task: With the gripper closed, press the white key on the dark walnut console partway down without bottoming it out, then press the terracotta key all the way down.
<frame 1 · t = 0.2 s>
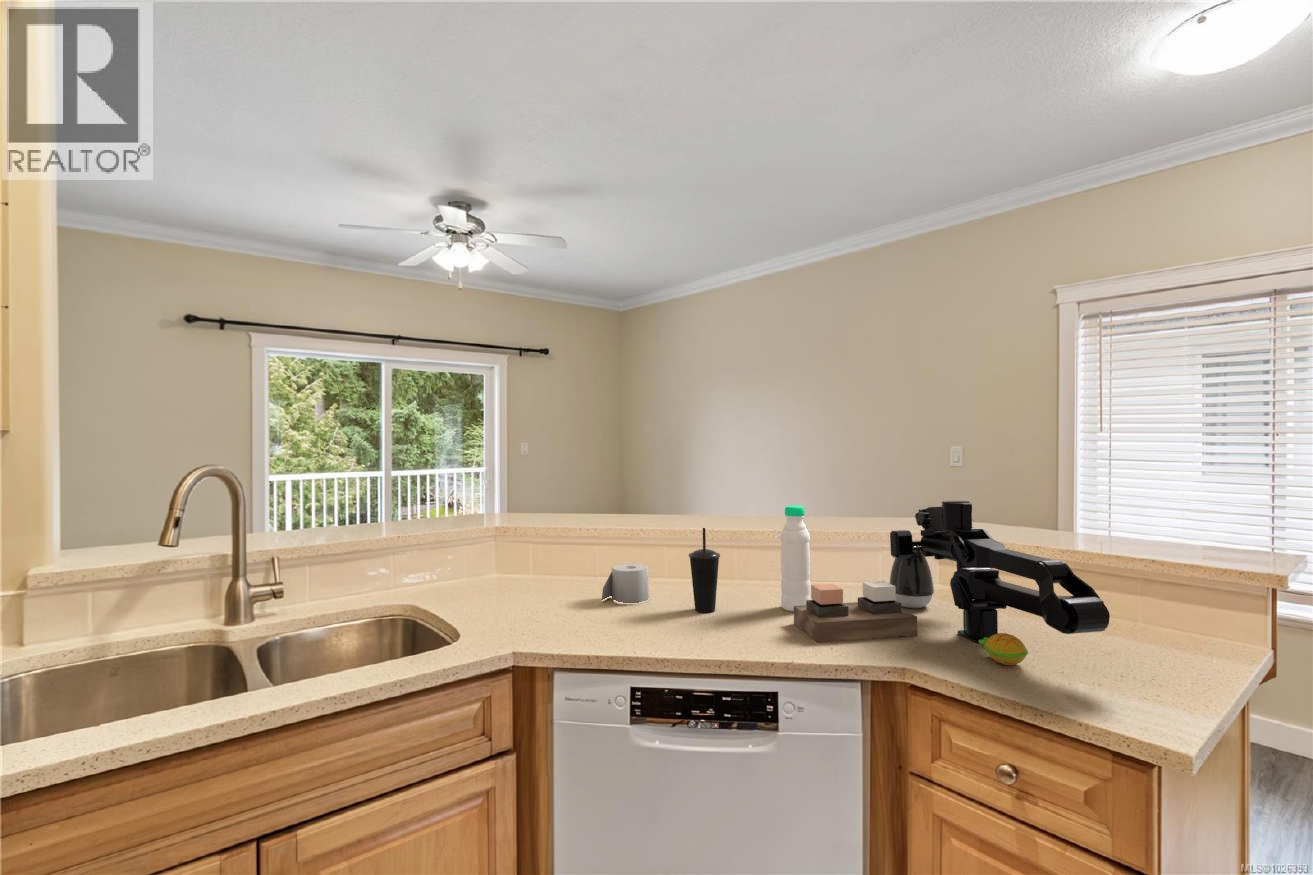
hand: (908, 538, 154), 17 cm above the worktop, tool horizontal, fingers open, 9 cm apart
white key: (878, 591, 136), point 8 cm above the worktop, slide at 0.0 cm
drinking cup: (705, 611, 152), on the worktop
console: (853, 629, 135), on the worktop
toilet tissue: (625, 601, 162), on the worktop
water bottle: (796, 609, 152), on the worktop
maraca: (1002, 662, 115), on the worktop
pump dispenser: (912, 606, 154), on the worktop
terracotta key: (826, 593, 134), point 8 cm above the worktop, slide at 0.0 cm
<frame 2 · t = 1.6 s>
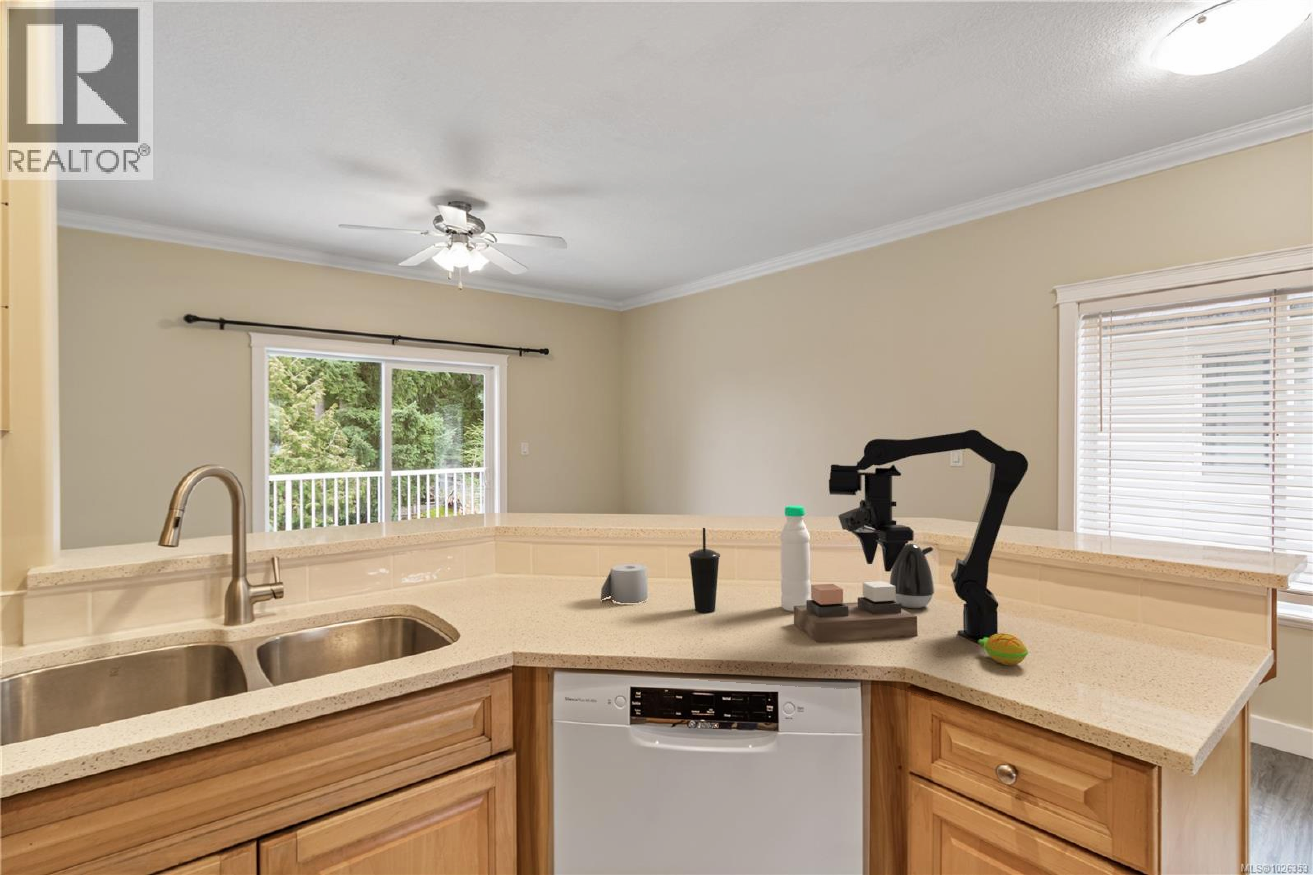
hand: (878, 567, 136), 13 cm above the worktop, tool pointing down, fingers open, 8 cm apart
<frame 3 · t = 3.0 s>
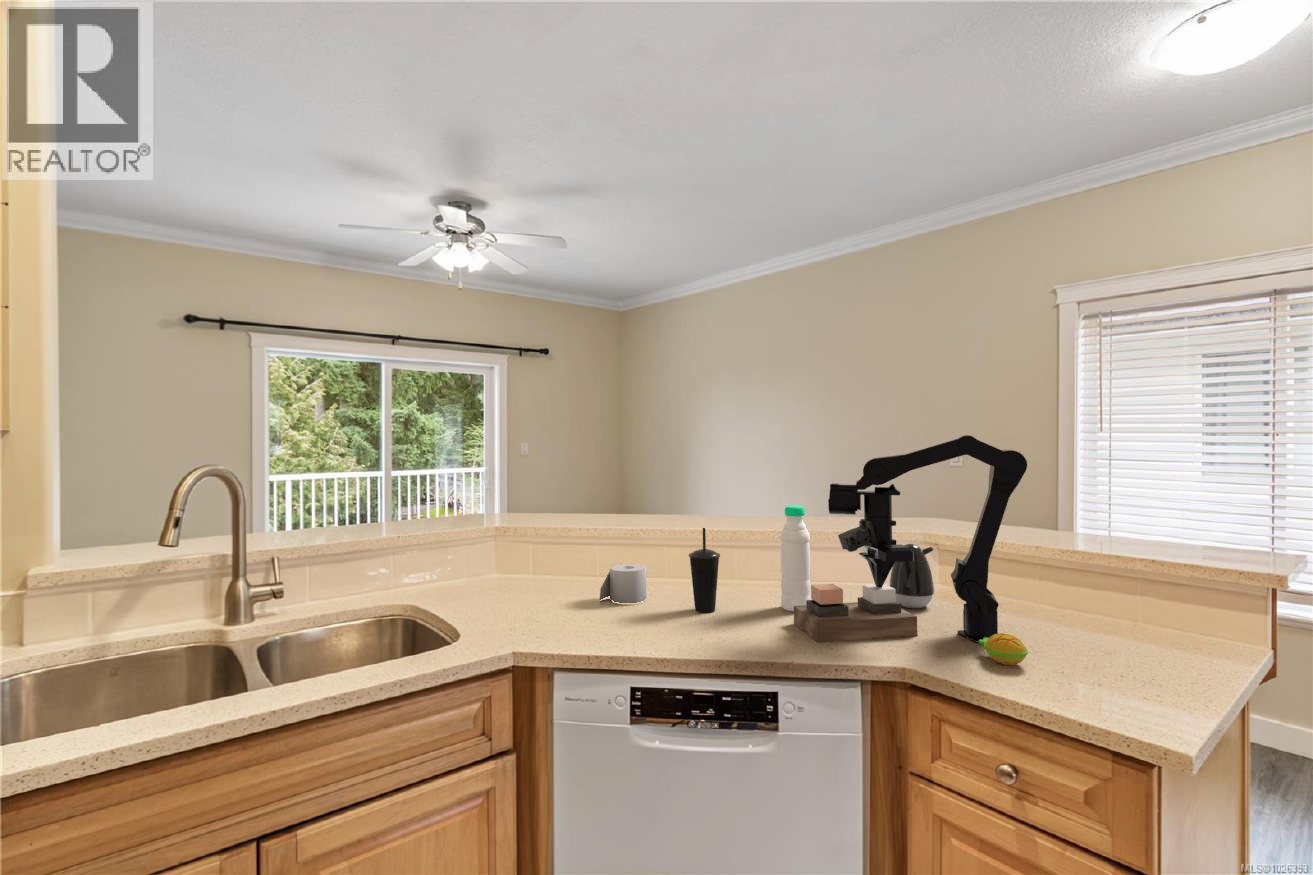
hand: (879, 586, 136), 9 cm above the worktop, tool pointing down, fingers closed, pressing on white key
white key: (878, 593, 136), point 7 cm above the worktop, slide at 0.6 cm, touching gripper
everything else where it was.
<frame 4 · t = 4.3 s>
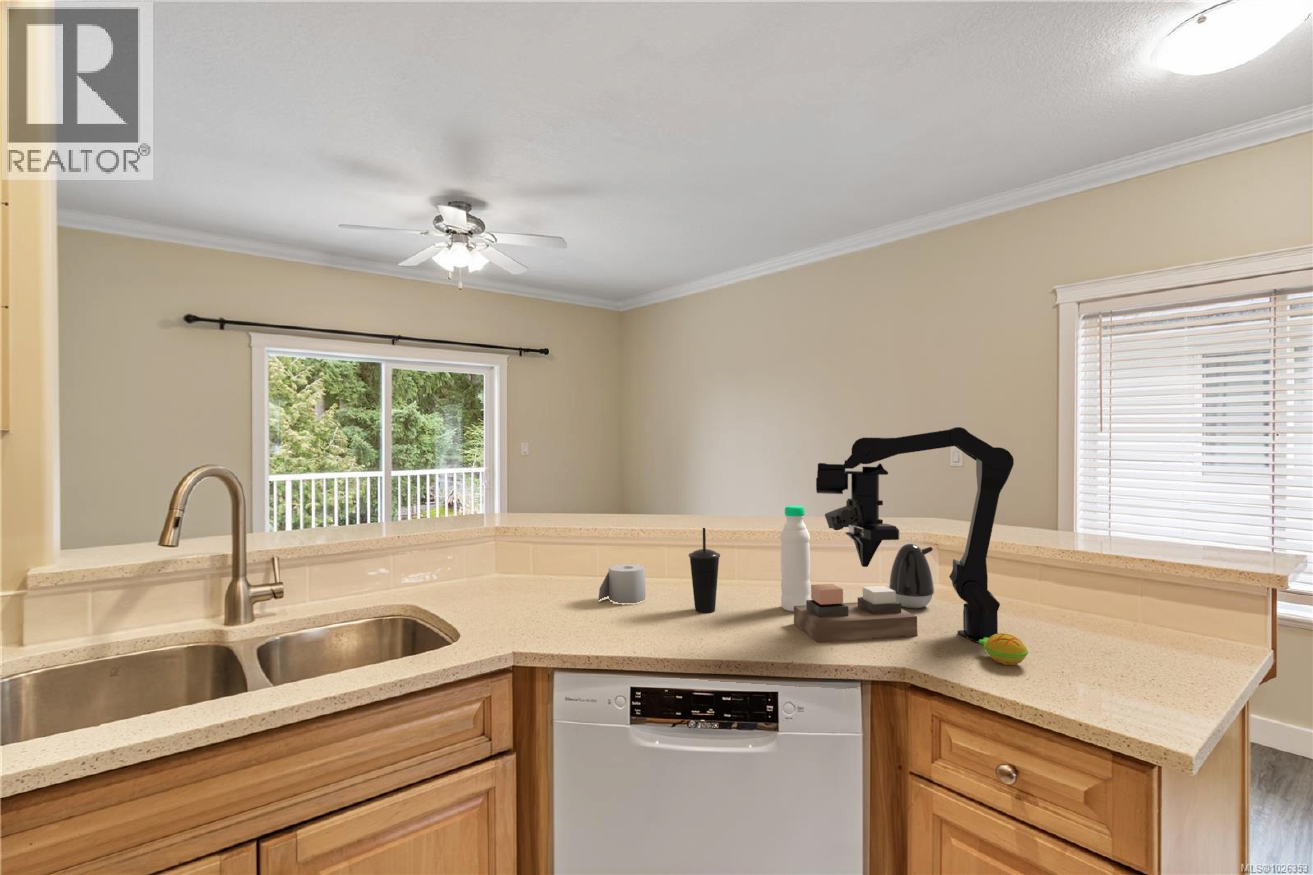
hand: (864, 566, 136), 13 cm above the worktop, tool pointing down, fingers closed
white key: (878, 595, 136), point 7 cm above the worktop, slide at 1.0 cm
everything else where it was.
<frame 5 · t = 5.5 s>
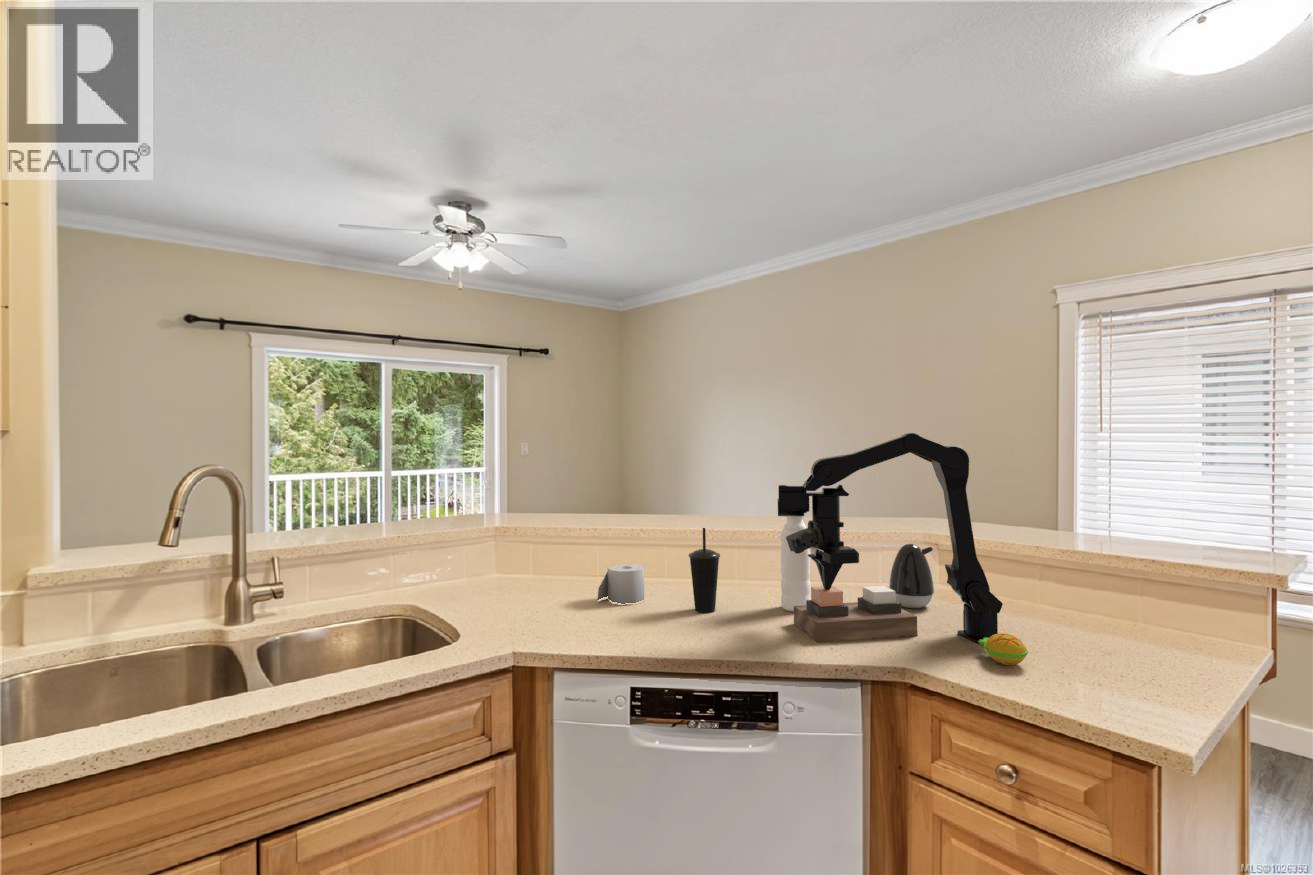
hand: (826, 589, 134), 9 cm above the worktop, tool pointing down, fingers closed, pressing on terracotta key
terracotta key: (826, 596, 134), point 8 cm above the worktop, slide at 0.5 cm, touching gripper
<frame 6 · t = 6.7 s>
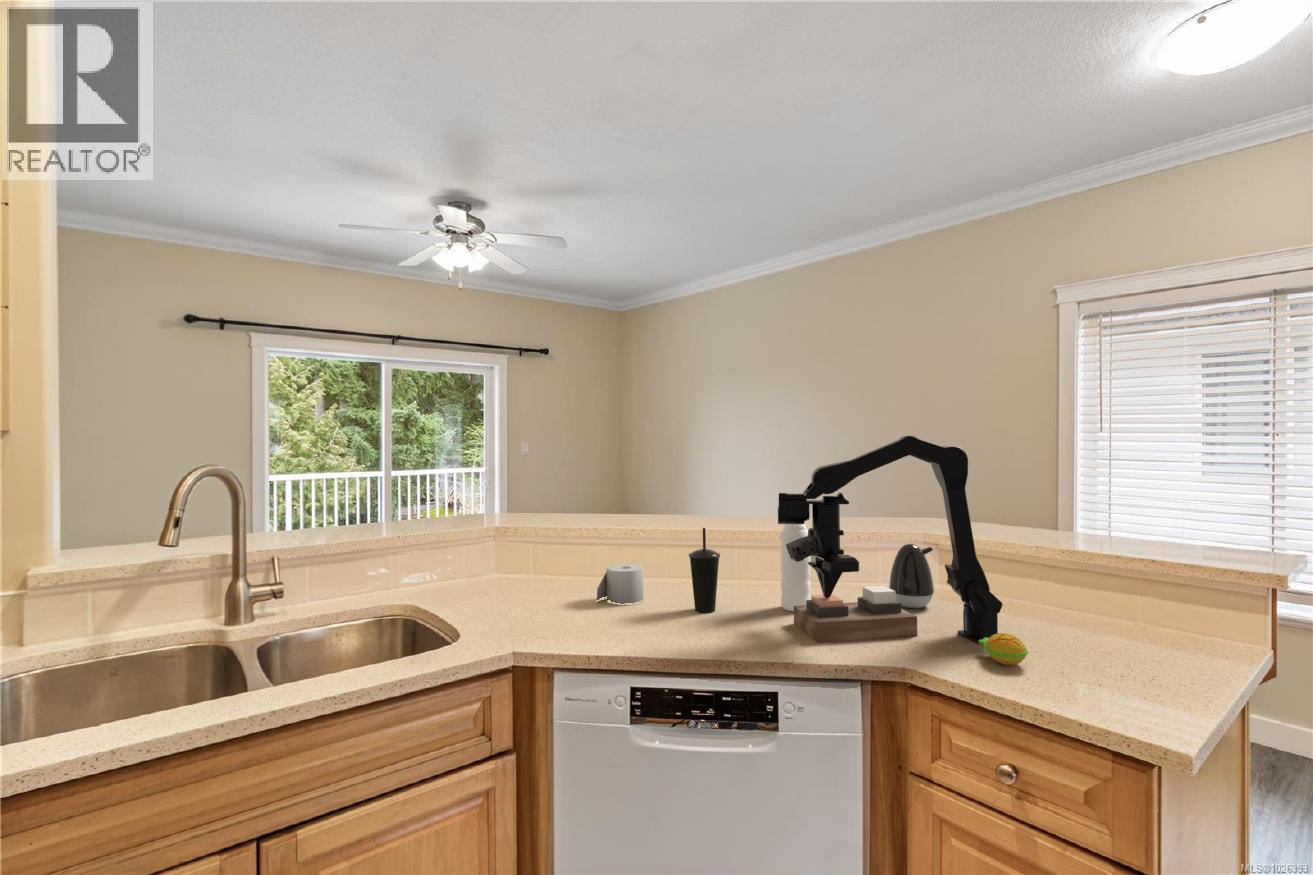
hand: (826, 597, 134), 7 cm above the worktop, tool pointing down, fingers closed
terracotta key: (826, 604, 134), point 6 cm above the worktop, slide at 2.3 cm
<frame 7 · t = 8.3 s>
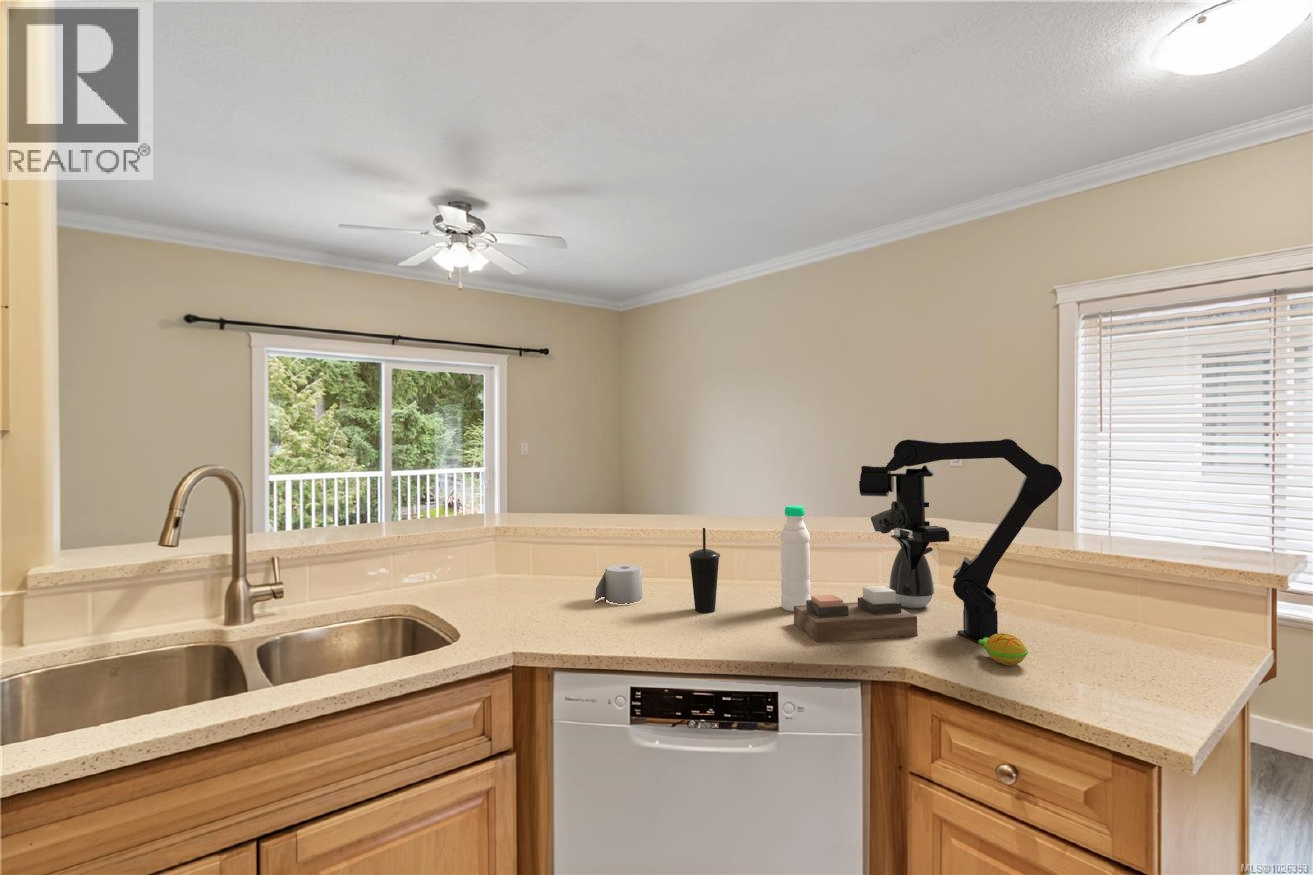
hand: (912, 569, 135), 13 cm above the worktop, tool pointing down, fingers closed
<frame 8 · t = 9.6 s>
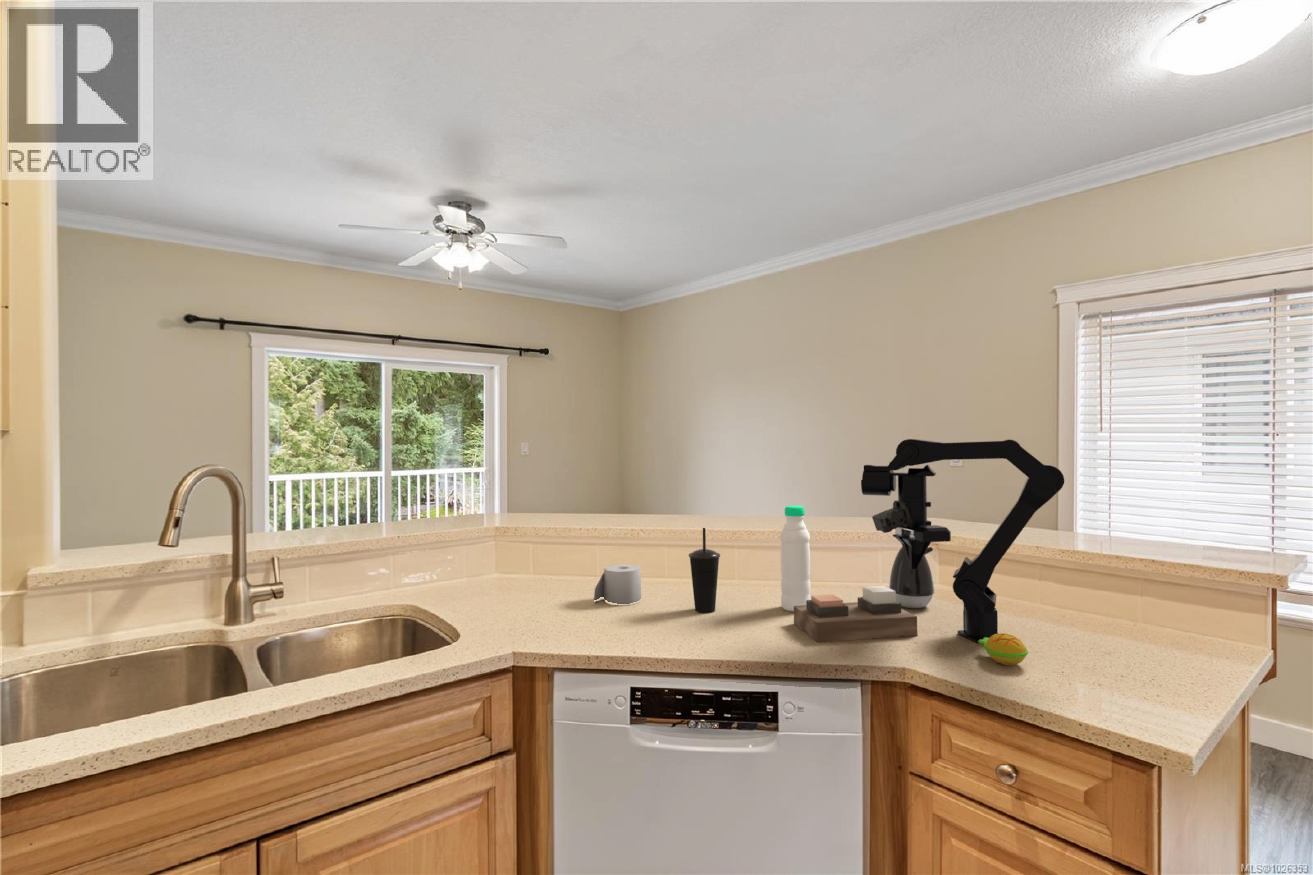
hand: (913, 568, 135), 13 cm above the worktop, tool pointing down, fingers closed
at the end: white key slide at 1.0 cm; terracotta key slide at 2.3 cm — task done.
